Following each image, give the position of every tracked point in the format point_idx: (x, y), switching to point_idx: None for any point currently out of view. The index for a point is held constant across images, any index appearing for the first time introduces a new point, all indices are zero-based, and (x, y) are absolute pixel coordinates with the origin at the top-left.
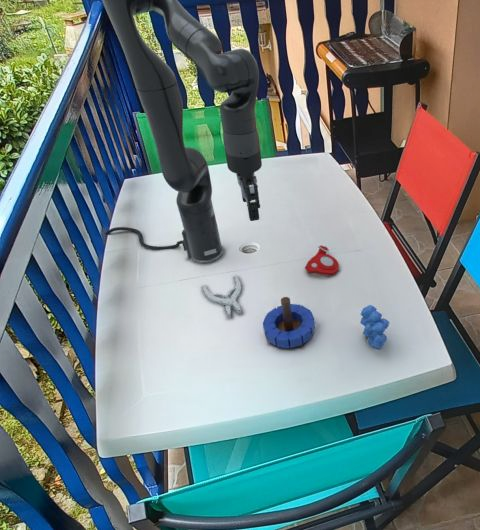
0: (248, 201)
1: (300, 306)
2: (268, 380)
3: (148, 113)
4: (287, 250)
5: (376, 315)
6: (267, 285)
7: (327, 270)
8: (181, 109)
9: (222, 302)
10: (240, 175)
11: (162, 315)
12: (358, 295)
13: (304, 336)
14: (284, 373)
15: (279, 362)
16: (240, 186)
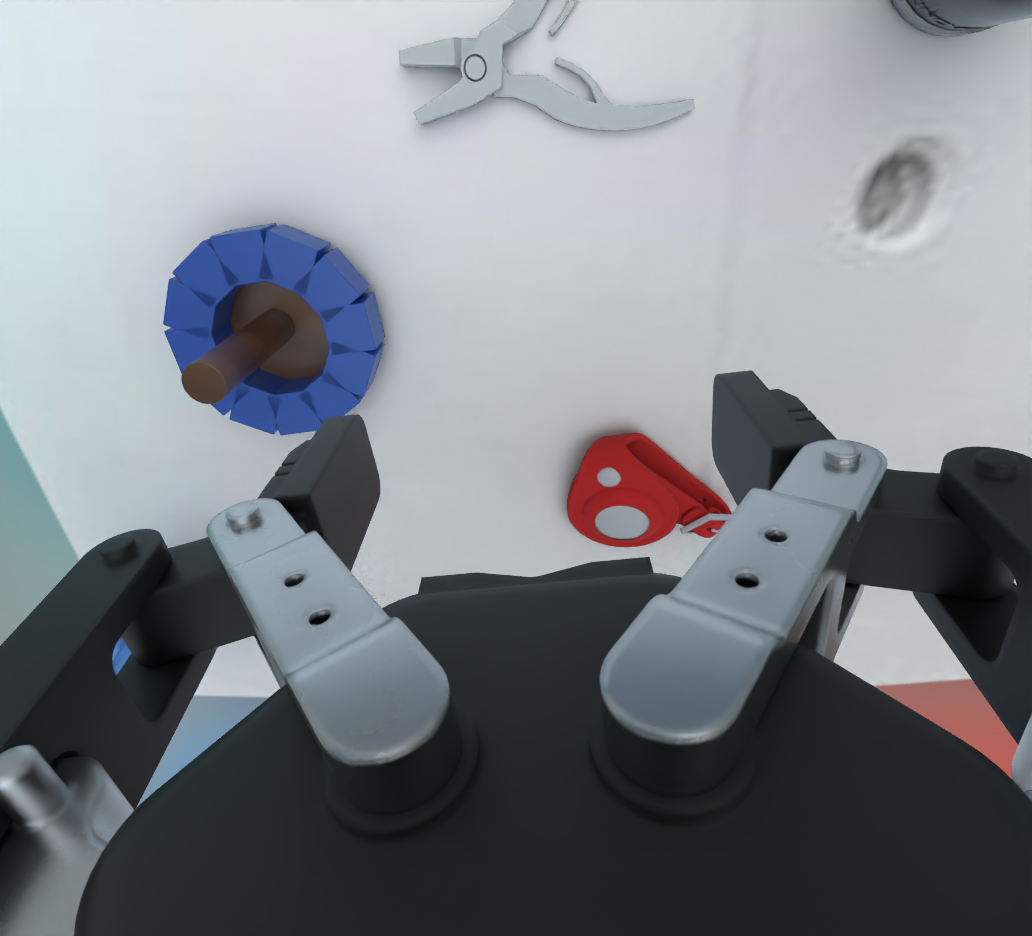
0: (12, 640)
1: (354, 395)
2: (44, 214)
3: None
4: (799, 374)
5: (115, 673)
6: (586, 261)
7: (580, 510)
8: None
9: (497, 21)
10: (597, 769)
11: None
12: (447, 566)
13: None
14: (83, 278)
15: (135, 266)
16: (791, 466)
